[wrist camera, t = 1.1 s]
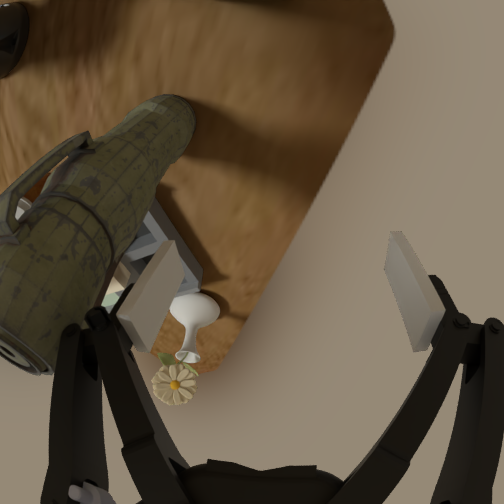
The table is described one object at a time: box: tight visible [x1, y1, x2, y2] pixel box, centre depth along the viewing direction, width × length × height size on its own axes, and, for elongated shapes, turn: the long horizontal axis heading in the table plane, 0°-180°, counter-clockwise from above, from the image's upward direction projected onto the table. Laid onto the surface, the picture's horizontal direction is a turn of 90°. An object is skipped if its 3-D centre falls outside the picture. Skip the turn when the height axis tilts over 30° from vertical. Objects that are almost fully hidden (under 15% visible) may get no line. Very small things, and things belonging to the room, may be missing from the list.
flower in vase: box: [152, 292, 220, 406], centre depth 52 cm, size 13×11×25 cm
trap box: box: [101, 197, 203, 313], centre depth 48 cm, size 22×30×7 cm
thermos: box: [0, 94, 196, 375], centre depth 22 cm, size 9×12×35 cm
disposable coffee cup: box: [15, 173, 51, 220], centre depth 36 cm, size 10×10×12 cm
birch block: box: [106, 261, 131, 295], centre depth 47 cm, size 7×7×4 cm
